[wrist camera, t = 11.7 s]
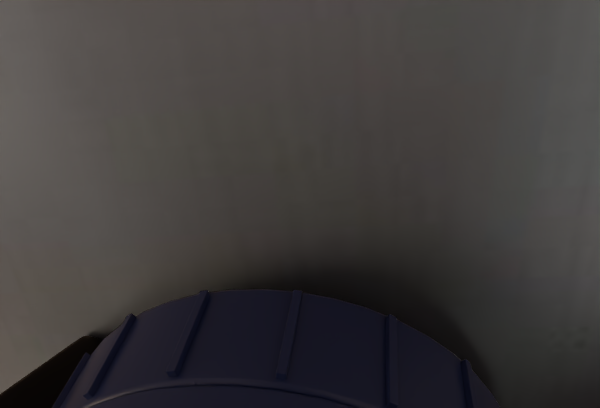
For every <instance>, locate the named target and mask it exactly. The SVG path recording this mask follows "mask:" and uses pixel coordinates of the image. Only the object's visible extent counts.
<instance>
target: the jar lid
mask: <svg viewBox="0 0 600 408" xmlns="http://www.w3.org/2000/svg"><path fill="white" fill-rule="evenodd" d="M52 408H500V406H499V404H498V403H497V401H496V399H495V397H494V396H493V394H492V393H491V392H490V391H489V389H488V388H487V387H486V386H485V385H484V383H483V382H482V381H481V380H480V378H479V377H478V376H477V375H476V374H475V372H474V371H472V367H471V363H470V362H469V361H467V360H466V359H465V360H463V361H461V360H460V359H459V358H458V357H457V356H456V355H455V354H454V353H452V352H451V351H449V350H448V349H446V348H445V347H443V346H442V345H441V344H439V343H438V342H436V341H435V340H433V339H432V338H430V337H429V336H427V335H426V334H424V333H422V332H420V331H418V330H416V329H414V328H412V327H410V326H409V325H407V324H405V323H403V322H401V321H399V320H397V317H395V316H393V315H390V314H389V315H388V316H387V315H384V314H382V313H379V312H377V311H374V310H372V309H370V308H366V307H364V306H359V305H356V304H352V303H349V302H345V301H342V300H338V299H335V298H330V297H325V296H319V295H314V294H308V293H303V292H302V291H300V290H293V291H284V290H271V289H232V290H224V291H216V292H208V290H205V291H200V293H199V294H196V295H192V296H188V297H184V298H180V299H176V300H172V301H169V302H166V303H164V304H161V305H159V306H156V307H154V308H151V309H149V310H146V311H144V312H142V313H141V314H139V315H137V316H135V315H133V314H132V313H131V314H130V315H128V316H127V317H126V318H125V320H124V322H123V324H122V325H120V326H119V327H118V328H117V329H116V330H114V331H113V332H112V333H111V334H110V335H108V336H107V337H106V338H105V339H104V340H103V341H102V342H101V343H100V344H99V346H98V347H97V348H96V349H95V350H94V352H93V353H92V354H91V355H90V354H88V353H85V354H84V356H83V357H82V359H81V361H80V362H79V364H78V365H77V367H76V369H75V370H74V372H73V374H72V375H71V377H70V379H69V380H68V382H67V384H66V385H65V387H64V389H63V390H62V392H61V393H60V395H59V397H58V398H57V400H56V402H55V403H54V405H53V407H52Z"/></svg>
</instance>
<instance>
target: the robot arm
mask: <svg viewBox="0 0 600 408" xmlns="http://www.w3.org/2000/svg"><path fill="white" fill-rule="evenodd" d="M103 340H104V339H100V338H96V337H92V336H83V337H81V338H79V339H78V340H77V341H75V342H74V343H72V344H71V345H69V346H68V347H67V348H65V349H64V350H62V351H61V352H59V353H58V354H57V355H55V356H54V357H52V358H51V359H49V360H48V361H47V362H45V363H44V364H42V365H41V366H40V367H38V368H37V369H35V370H34V371H32V372H31V373H30V374H28V375H27V376H25V377H24V378H22V379H21V380H20V381H18V382H17V383H15V384H14V385H12V386H11V387H10V388H8V389H7V390H5V391H4V392H2V393H1V394H0V408H52V407H53V405H54V403H55V402H56V400H57V398H58V397H59V395H60V393H61V392H62V390H63V389H64V387H65V385H66V384H67V382H68V380H69V379H70V377H71V375H72V374H73V372H74V370H75V369H76V367H77V365H78V364H79V362H80V361H81V359H82V357H83V356H84V354H85V353H88V354H90V355H91V354H92V353H93V352H94V350H95V349H96V348H97V347H98V346H99V344H100V343H101V342H102V341H103Z"/></svg>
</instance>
